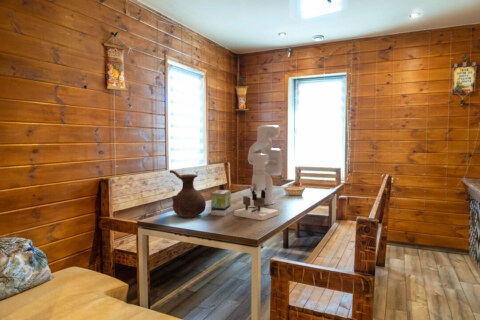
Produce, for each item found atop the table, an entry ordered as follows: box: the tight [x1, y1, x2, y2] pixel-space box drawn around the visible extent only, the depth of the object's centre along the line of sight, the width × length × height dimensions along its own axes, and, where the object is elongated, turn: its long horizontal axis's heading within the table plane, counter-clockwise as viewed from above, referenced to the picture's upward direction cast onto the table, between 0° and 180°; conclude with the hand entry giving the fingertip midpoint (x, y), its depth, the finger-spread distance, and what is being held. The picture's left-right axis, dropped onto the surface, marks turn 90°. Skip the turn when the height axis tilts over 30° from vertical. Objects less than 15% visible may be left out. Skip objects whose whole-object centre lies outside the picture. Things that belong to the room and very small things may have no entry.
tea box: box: [210, 189, 232, 217], centre depth 212 cm, size 15×10×15 cm
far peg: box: [242, 195, 258, 210], centre depth 210 cm, size 9×7×8 cm
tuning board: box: [233, 205, 279, 221], centre depth 207 cm, size 19×22×3 cm
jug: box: [169, 169, 207, 219], centre depth 205 cm, size 22×22×30 cm
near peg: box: [251, 196, 265, 212], centre depth 202 cm, size 9×7×8 cm
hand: (258, 199), depth 204 cm, fingers open, 9 cm apart
